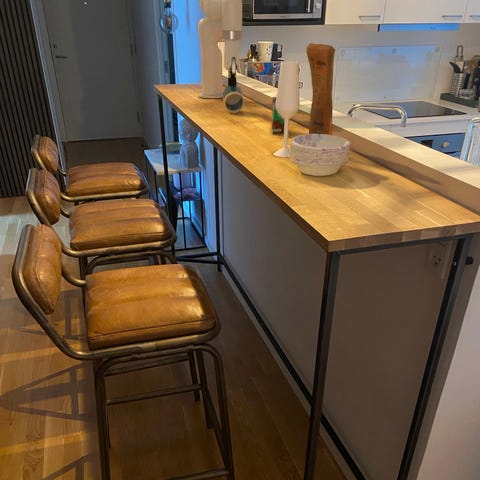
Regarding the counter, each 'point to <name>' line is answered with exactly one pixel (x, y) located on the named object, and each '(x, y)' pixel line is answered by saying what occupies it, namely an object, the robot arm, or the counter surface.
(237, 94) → the teal cup
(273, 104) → the food container
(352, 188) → the counter surface
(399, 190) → the counter surface
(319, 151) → the paper bowls
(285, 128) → the champagne flute
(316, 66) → the pancake mix bag
